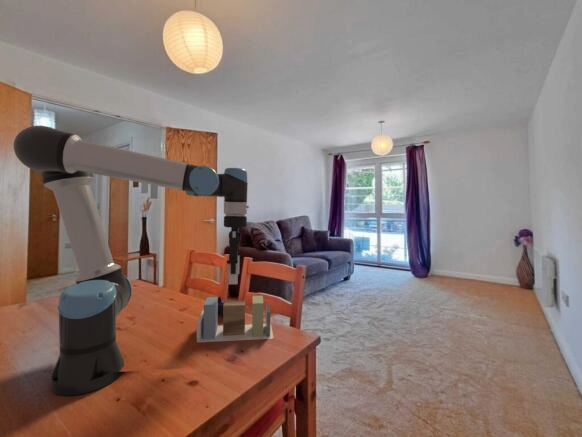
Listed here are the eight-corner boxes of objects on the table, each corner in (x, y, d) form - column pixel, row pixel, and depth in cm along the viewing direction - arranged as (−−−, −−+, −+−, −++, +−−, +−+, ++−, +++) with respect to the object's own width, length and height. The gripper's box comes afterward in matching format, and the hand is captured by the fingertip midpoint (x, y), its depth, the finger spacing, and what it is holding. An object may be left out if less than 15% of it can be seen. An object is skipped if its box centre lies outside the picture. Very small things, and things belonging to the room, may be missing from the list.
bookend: (270, 336, 94) (270, 312, 93) (267, 336, 93) (267, 312, 93) (268, 325, 102) (268, 303, 102) (265, 325, 102) (265, 303, 102)
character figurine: (219, 312, 120) (244, 320, 111) (204, 315, 114) (230, 325, 105) (220, 293, 120) (246, 300, 111) (206, 296, 114) (232, 304, 105)
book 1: (214, 338, 92) (214, 304, 91) (203, 339, 91) (203, 305, 91) (217, 328, 99) (217, 296, 99) (207, 328, 99) (207, 297, 99)
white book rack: (273, 343, 92) (273, 320, 92) (196, 347, 89) (196, 323, 89) (270, 327, 104) (271, 307, 104) (202, 330, 101) (203, 309, 100)
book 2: (244, 334, 95) (244, 305, 94) (223, 335, 94) (223, 305, 93) (244, 329, 99) (245, 300, 99) (224, 329, 98) (224, 301, 98)
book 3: (263, 336, 94) (263, 303, 93) (252, 336, 93) (252, 303, 93) (262, 326, 102) (262, 295, 101) (252, 326, 101) (252, 295, 101)
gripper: (246, 216, 83) (244, 288, 84) (247, 214, 108) (246, 270, 108) (219, 216, 82) (218, 289, 83) (226, 214, 107) (226, 270, 107)
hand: (234, 278), depth 96 cm, fingers open, 13 cm apart
